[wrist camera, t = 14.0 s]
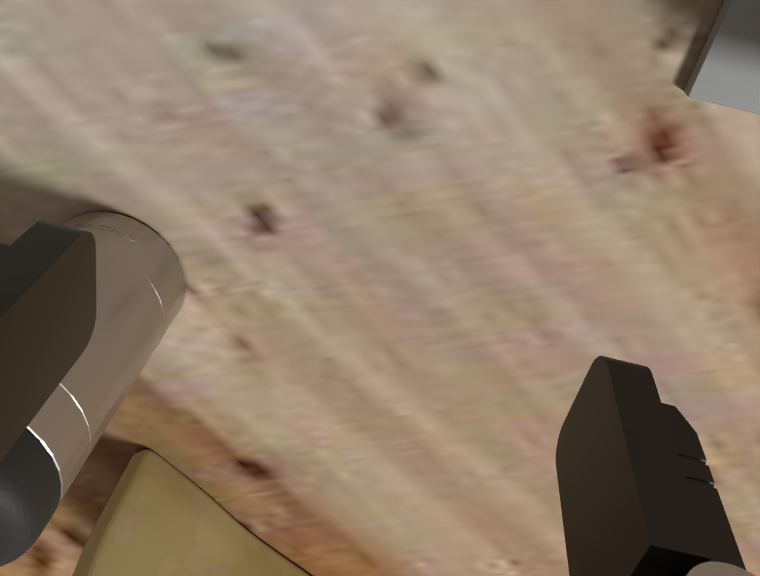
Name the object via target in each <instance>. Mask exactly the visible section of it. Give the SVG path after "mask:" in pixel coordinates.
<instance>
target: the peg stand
mask: <svg viewBox="0 0 760 576" xmlns="http://www.w3.org/2000/svg"><path fill="white" fill-rule="evenodd" d="M684 92H685V94H686V95H687V96H688V97H690V98H694V99H698V100H702V101H706V102H710V103H714V104H718V105H722V106H726V107H730V108H734V109H739V110H743V111H747V112H751V113H755V114H759V115H760V0H724V2H723V4H722V7H721V9H720V11H719V13H718V16H717V18H716V20H715V22H714V25H713V27H712V29H711V31H710V33H709V36H708V38H707V40H706V42H705V45H704V47H703V49H702V51H701V54H700V56H699V58H698V60H697V62H696V65H695V67H694V69H693V71H692V74H691V76H690V78H689V80H688V83H687V85H686V87H685V89H684Z"/></svg>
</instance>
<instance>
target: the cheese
mask: <svg viewBox="0 0 760 576" xmlns="http://www.w3.org/2000/svg"><path fill="white" fill-rule="evenodd" d="M72 576H310V575H309V574H307V573H306V572H304V571H303V570H301V569H300V568H298V567H297V566H296V565H294V564H293V563H291V562H290V561H288V560H287V559H286V558H284V557H283V556H281V555H280V554H279V553H277V552H276V551H274V550H273V549H272V548H270V547H269V546H267V545H266V544H265V543H263V542H262V541H261V540H259V539H258V538H257V537H255V536H254V535H253V534H252V533H250V532H249V531H248V530H247V529H245V528H244V527H243V526H242V525H241V524H239V523H238V522H237V521H236V520H235V519H234V518H233V517H231V516H230V515H229V514H228V513H227V512H226V511H225V510H224V509H223V508H222V507H221V506H220V505H218V504H217V503H216V502H215V501H214V500H213V499H212V498H211V497H210V496H208V495H207V494H206V493H205V492H204V491H203V490H201V489H200V488H199V487H198V486H197V485H195V484H194V483H193V482H192V481H191V480H189V479H188V478H187V477H186V476H184V475H183V474H182V473H181V472H179V471H178V470H177V469H176V468H174V467H173V466H172V465H171V464H169V463H168V462H167V461H165V460H164V459H163V458H162V457H160V456H159V455H158V454H156V453H155V452H153V451H151V450H142V451H140V452H138V453H136V454H134V455H133V456H132V458H131V460H130V462H129V463H128V465H127V467H126V469H125V471H124V473H123V475H122V477H121V478H120V480H119V482H118V484H117V486H116V488H115V490H114V491H113V493H112V495H111V497H110V499H109V501H108V502H107V504H106V506H105V508H104V510H103V512H102V513H101V515H100V517H99V519H98V521H97V523H96V525H95V527H94V529H93V531H92V533H91V535H90V537H89V539H88V541H87V543H86V545H85V547H84V550H83V552H82V554H81V556H80V559H79V561H78V563H77V566H76V568H75V570H74V573H73V575H72Z"/></svg>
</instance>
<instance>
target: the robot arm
mask: <svg viewBox="0 0 760 576" xmlns="http://www.w3.org/2000/svg"><path fill="white" fill-rule="evenodd" d="M185 287H186V284H185V278H184V272H183V270H182V267H181V264H180V262H179V260H178V258H177V256H176V255H175V253H174V252H173V250H172V249H171V247H170V246H169V245H168V244H167V243H166V242H165V241H164V240H163V239H162V238H161V237H160V236H159V235H158V234H157V233H155V232H154V231H153V230H151V229H150V228H149V227H147V226H146V225H144V224H142V223H140V222H138V221H136V220H134V219H132V218H129V217H126V216H123V215H120V214H115V213H108V212H91V213H86V214H83V215H79V216H76V217H74V218H73V219H71V220H69V221H67V222H66V223H65V224H64V225H59V224H55V223H51V222H47V221H39V222H37V223H36V224H34V225H33V226H32V227H31V228H30V229H29V230H28V231H26V232H25V233H24V234H23V235H22V236H21V237H20V238H19V239H18V240H16V241H15V242H14V243H13V244H12V245H11V246H8V245H4V244H0V566H3V565H5V564H8V563H10V562H12V561H14V560H16V559H17V558H19V557H20V556H21V555H23V554H24V553H25V552H26V551H27V550H28V549H29V548H30V547H31V546H32V545H33V544H34V543H35V541H36V540H37V539H38V537H39V536H40V534H41V533H42V531H43V530H44V528H45V527H46V525H47V523H48V522H49V520H50V518H51V517H52V515H53V514H54V512H55V510H56V508H57V507H58V505H59V504H60V502H61V500H62V499H63V497H64V495H65V494H66V492H67V491H68V489H69V487H70V486H71V484H72V483H73V481H74V479H75V478H76V476H77V474H78V473H79V471H80V470H81V468H82V466H83V465H84V463H85V461H86V459H87V458H88V456H89V454H90V453H91V451H92V450H93V448H94V446H95V445H96V443H97V442H98V440H99V438H100V437H101V435H102V433H103V432H104V430H105V429H106V427H107V425H108V424H109V422H110V421H111V419H112V417H113V416H114V414H115V412H116V411H117V409H118V408H119V406H120V404H121V403H122V401H123V400H124V398H125V396H126V395H127V393H128V391H129V390H130V388H131V387H132V385H133V383H134V382H135V380H136V379H137V377H138V375H139V374H140V372H141V370H142V369H143V367H144V366H145V364H146V362H147V361H148V359H149V358H150V356H151V354H152V353H153V351H154V349H155V348H156V347H157V345H158V343H159V342H160V340H161V339H162V337H163V335H164V334H165V332H166V331H167V329H168V327H169V326H170V324H171V322H172V321H173V319H174V318H175V316H176V314H177V313H178V311H179V310H180V308H181V305H182V303H183V300H184V297H185ZM556 468H557V477H558V485H559V493H560V501H561V509H562V517H563V526H564V534H565V542H566V550H567V558H568V566H569V575H570V576H755V575H754V574H752V573H750V572H748V571H746V568H745V566H744V563H743V560H742V557H741V555H740V552H739V549H738V546H737V543H736V541H735V538H734V535H733V532H732V530H731V527H730V524H729V521H728V519H727V516H726V513H725V510H724V507H723V505H722V502H721V499H720V496H719V494H718V491H717V489H716V488H714V483H715V482H714V480H713V477H712V474H711V471H710V469H709V466H707V465H706V458H705V455H704V452H703V449H702V446H701V444H700V441H699V438H698V435H697V433H696V432H695V430H694V429H693V428H692V427H691V425H690V424H689V423H688V422H687V420H686V419H685V418H684V417H683V415H682V414H681V413H680V412H679V411H678V409H677V408H676V407H675V406H672V405H668V404H664V403H661V400H660V397H659V394H658V391H657V388H656V385H655V382H654V378H653V375H652V373H651V370H650V369H649V368H648V367H646V366H642V365H638V364H634V363H629V362H625V361H621V360H617V359H613V358H609V357H604V356H599V357H597V358H596V359H595V360H594V362H593V363H592V365H591V367H590V369H589V371H588V373H587V375H586V377H585V379H584V381H583V384H582V386H581V388H580V390H579V392H578V394H577V396H576V398H575V400H574V402H573V404H572V407H571V409H570V411H569V413H568V415H567V417H566V419H565V421H564V423H563V426H562V428H561V431H560V434H559V438H558V443H557V450H556Z"/></svg>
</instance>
